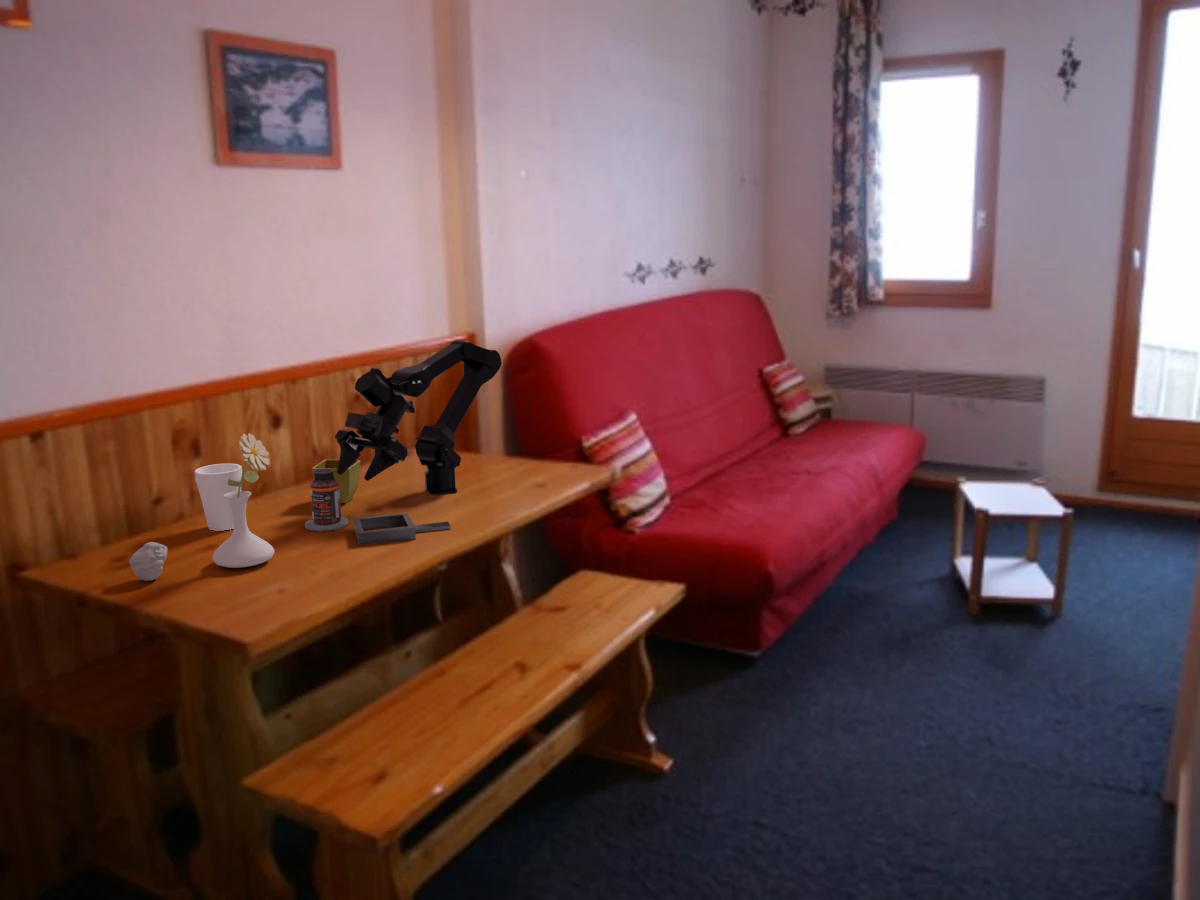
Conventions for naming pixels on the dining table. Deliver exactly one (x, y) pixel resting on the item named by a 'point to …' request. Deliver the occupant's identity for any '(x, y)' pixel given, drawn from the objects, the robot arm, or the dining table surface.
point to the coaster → (319, 528)
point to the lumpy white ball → (149, 561)
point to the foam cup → (217, 493)
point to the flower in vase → (244, 514)
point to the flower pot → (343, 478)
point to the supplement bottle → (325, 498)
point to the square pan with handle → (391, 533)
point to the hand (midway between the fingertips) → (352, 476)
